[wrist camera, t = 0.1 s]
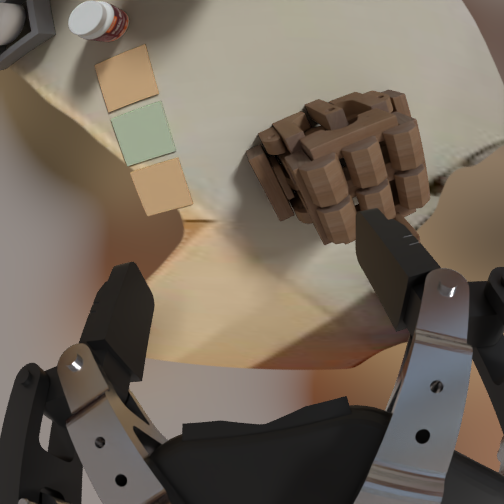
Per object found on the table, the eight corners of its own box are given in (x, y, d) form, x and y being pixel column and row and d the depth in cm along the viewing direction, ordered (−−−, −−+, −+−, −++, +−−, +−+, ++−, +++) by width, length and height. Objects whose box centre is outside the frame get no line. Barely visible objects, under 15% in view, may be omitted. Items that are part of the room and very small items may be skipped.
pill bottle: (129, 38, 26) (105, 32, 19) (95, 45, 26) (64, 43, 19) (130, 5, 23) (106, -8, 17) (95, 13, 23) (65, 5, 16)
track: (95, 65, 27) (94, 65, 27) (145, 44, 27) (144, 44, 27) (147, 215, 41) (147, 216, 41) (193, 203, 40) (193, 204, 40)
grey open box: (-4, 18, 18) (-21, 19, 14) (46, -19, 17) (30, -23, 14) (5, 69, 24) (-13, 73, 20) (55, 34, 23) (38, 33, 19)
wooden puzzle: (384, 75, 32) (481, 99, 16) (408, 165, 40) (487, 228, 25) (237, 135, 36) (249, 194, 21) (282, 221, 44) (314, 315, 29)
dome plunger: (0, 20, 17) (-26, 21, 12) (30, -3, 17) (5, -7, 12) (5, 52, 21) (-22, 56, 16) (35, 29, 21) (9, 29, 16)
